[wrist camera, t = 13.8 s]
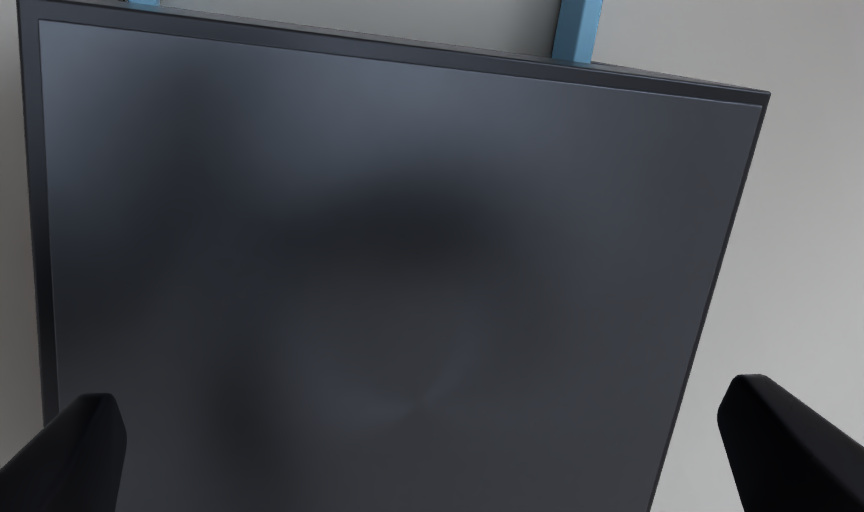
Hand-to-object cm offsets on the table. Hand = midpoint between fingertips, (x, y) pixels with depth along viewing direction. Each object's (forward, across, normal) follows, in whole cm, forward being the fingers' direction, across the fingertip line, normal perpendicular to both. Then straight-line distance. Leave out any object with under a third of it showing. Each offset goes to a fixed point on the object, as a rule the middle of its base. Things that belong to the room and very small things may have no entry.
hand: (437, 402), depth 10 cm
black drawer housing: (+10, +1, +6) cm, 11 cm away
